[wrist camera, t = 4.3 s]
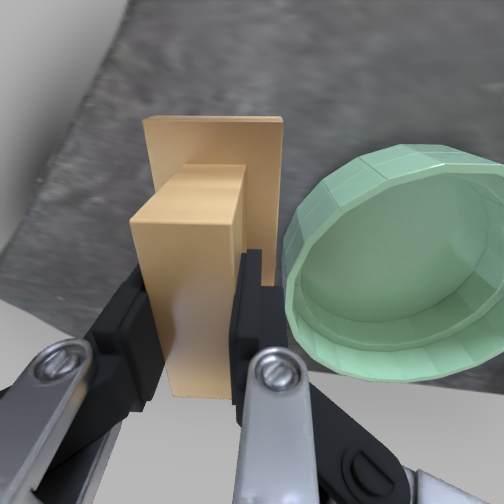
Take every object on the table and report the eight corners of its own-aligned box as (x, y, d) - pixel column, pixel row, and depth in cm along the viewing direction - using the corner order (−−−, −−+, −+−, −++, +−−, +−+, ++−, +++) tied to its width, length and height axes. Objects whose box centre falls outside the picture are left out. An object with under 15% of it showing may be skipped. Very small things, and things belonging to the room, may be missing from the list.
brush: (163, 112, 12) (45, 149, 6) (280, 113, 12) (296, 153, 5) (189, 292, 17) (144, 418, 11) (271, 295, 17) (273, 424, 11)
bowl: (289, 140, 19) (297, 160, 14) (548, 144, 18) (657, 166, 13) (276, 323, 28) (278, 378, 23) (452, 330, 27) (496, 387, 22)
